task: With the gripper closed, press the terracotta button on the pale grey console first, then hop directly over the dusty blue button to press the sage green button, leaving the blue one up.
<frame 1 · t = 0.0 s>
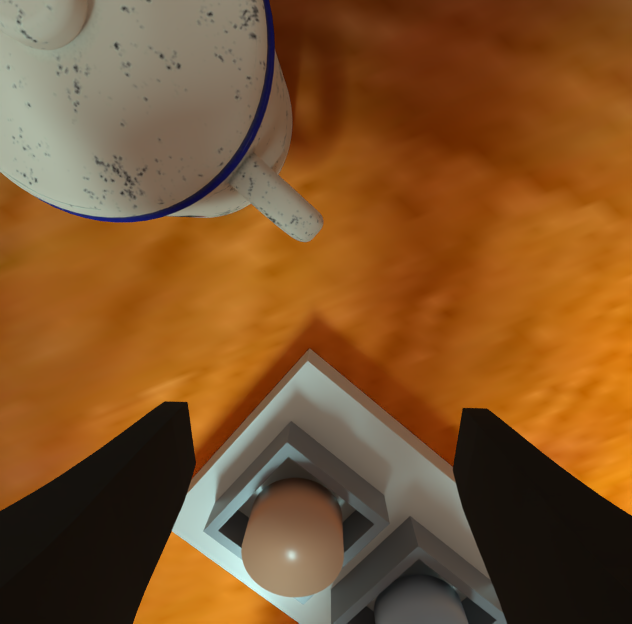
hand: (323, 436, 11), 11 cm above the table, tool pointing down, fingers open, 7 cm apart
button console: (405, 556, 24), on the table
terracotta button: (294, 535, 18), point 4 cm above the table, slide at 0.0 cm
teacup with lid: (226, 146, 19), on the table
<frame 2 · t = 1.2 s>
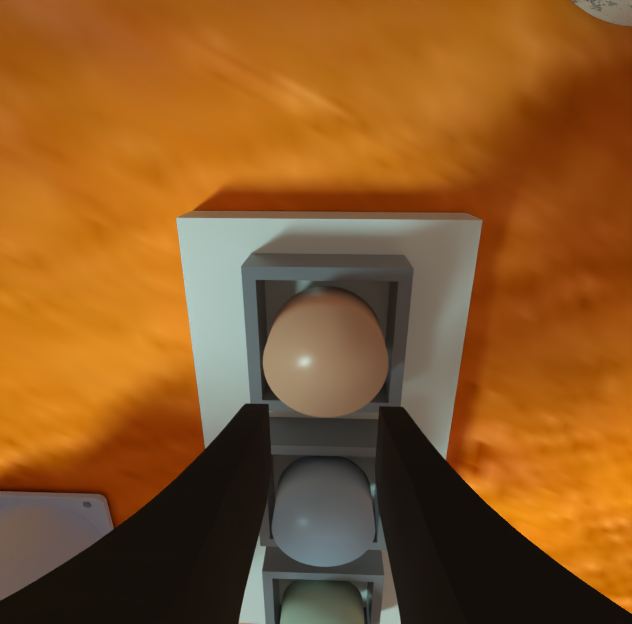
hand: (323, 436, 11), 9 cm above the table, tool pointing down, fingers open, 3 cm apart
button console: (324, 442, 22), on the table
sage button: (322, 623, 21), point 5 cm above the table, slide at 0.0 cm
terracotta button: (325, 350, 15), point 5 cm above the table, slide at 0.0 cm
dusty blue button: (323, 509, 18), point 4 cm above the table, slide at 0.0 cm
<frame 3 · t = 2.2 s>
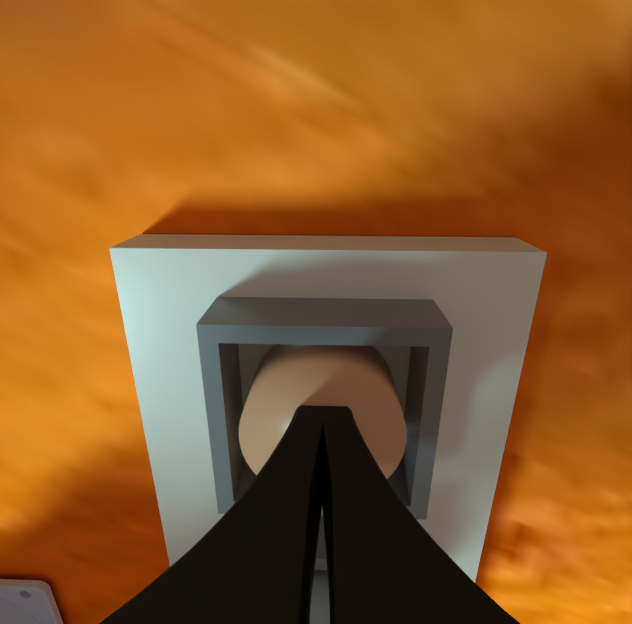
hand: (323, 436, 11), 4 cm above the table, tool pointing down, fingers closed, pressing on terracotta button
button console: (322, 522, 18), on the table
terracotta button: (322, 414, 12), point 3 cm above the table, slide at 1.3 cm, touching gripper
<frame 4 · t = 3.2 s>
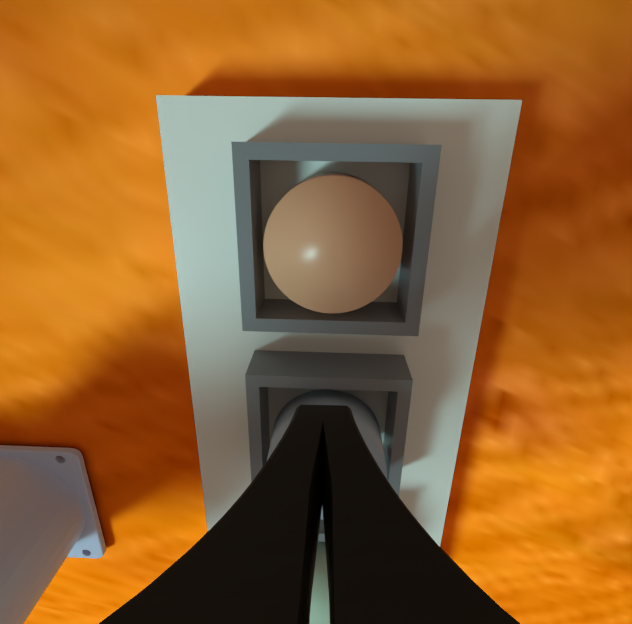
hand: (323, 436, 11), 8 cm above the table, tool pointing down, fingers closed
button console: (327, 389, 20), on the table
sage button: (322, 591, 19), point 4 cm above the table, slide at 0.0 cm
terracotta button: (332, 241, 14), point 3 cm above the table, slide at 1.3 cm
dusty blue button: (326, 453, 16), point 4 cm above the table, slide at 0.0 cm
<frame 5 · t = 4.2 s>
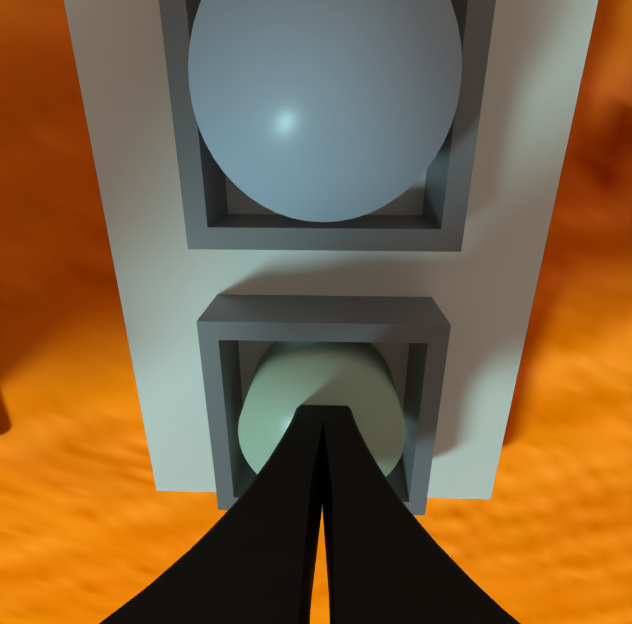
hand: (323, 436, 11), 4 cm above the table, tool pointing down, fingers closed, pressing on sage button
button console: (326, 113, 12), on the table
sage button: (322, 412, 12), point 3 cm above the table, slide at 1.2 cm, touching gripper
dusty blue button: (324, 93, 8), point 4 cm above the table, slide at 0.0 cm
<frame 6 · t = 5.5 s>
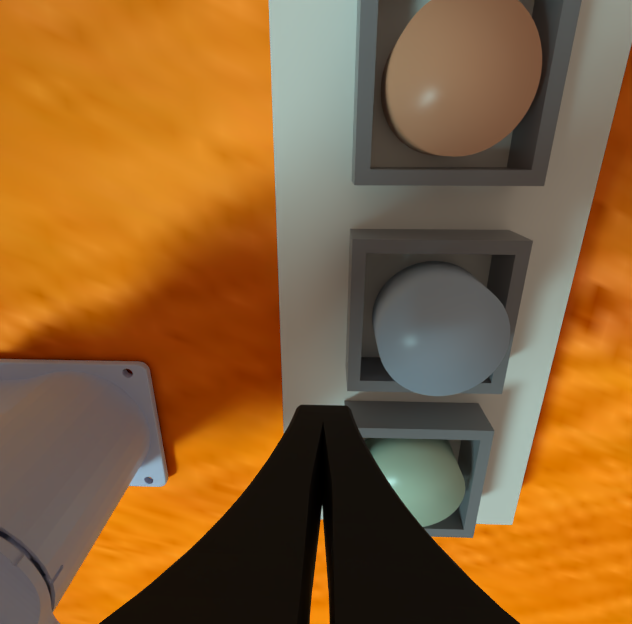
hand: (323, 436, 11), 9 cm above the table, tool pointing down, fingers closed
button console: (412, 288, 19), on the table
sage button: (409, 472, 19), point 3 cm above the table, slide at 1.3 cm
terracotta button: (453, 82, 13), point 3 cm above the table, slide at 1.3 cm
dusty blue button: (435, 327, 15), point 4 cm above the table, slide at 0.0 cm
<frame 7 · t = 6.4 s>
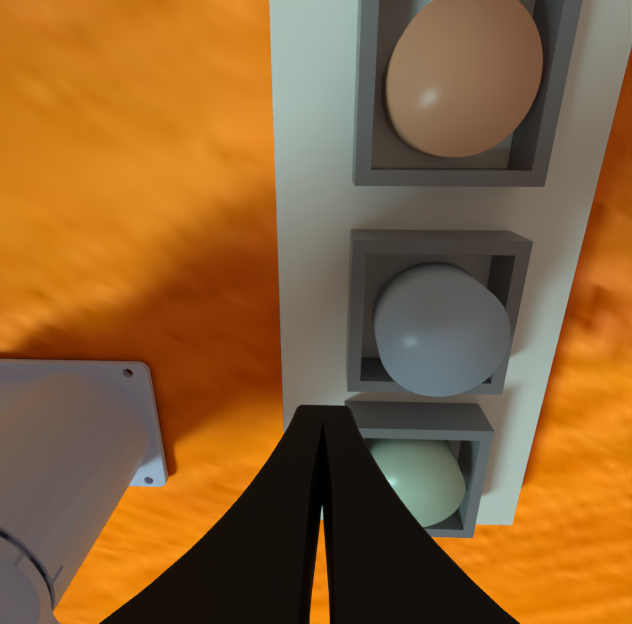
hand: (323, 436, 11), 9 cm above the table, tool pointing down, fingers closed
button console: (412, 288, 19), on the table
sage button: (409, 473, 19), point 3 cm above the table, slide at 1.3 cm
terracotta button: (454, 83, 13), point 3 cm above the table, slide at 1.3 cm
dusty blue button: (435, 328, 15), point 4 cm above the table, slide at 0.0 cm
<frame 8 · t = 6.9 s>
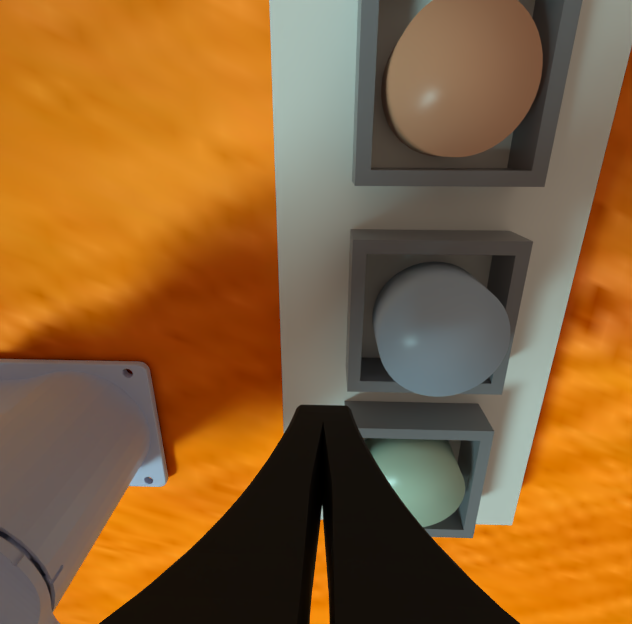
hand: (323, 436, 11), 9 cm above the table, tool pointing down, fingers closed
button console: (412, 288, 19), on the table
sage button: (409, 473, 19), point 3 cm above the table, slide at 1.3 cm
terracotta button: (454, 83, 13), point 3 cm above the table, slide at 1.3 cm
dusty blue button: (435, 328, 15), point 4 cm above the table, slide at 0.0 cm
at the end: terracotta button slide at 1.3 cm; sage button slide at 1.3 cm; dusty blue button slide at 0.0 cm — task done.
